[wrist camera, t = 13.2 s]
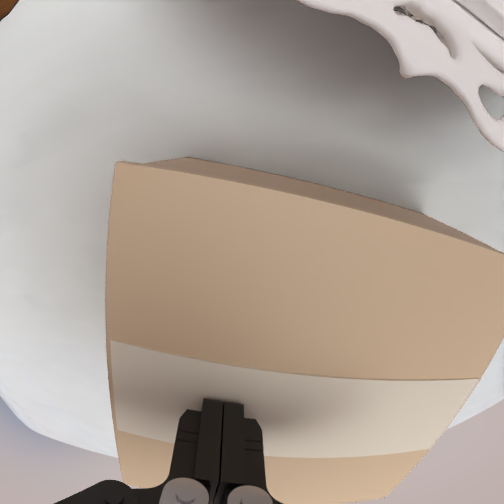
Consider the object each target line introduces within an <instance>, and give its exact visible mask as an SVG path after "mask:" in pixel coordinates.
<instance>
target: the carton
mask: <svg viewBox="0 0 504 504" xmlns="http://www.w3.org/2000/svg"><path fill="white" fill-rule="evenodd" d="M146 164H147V165H154V166H160V167H166V168H173V169H179V170H184V171H190V172H196V173H202V174H207V175H213V176H218V177H223V178H228V179H234V180H239V181H244V182H249V183H254V184H258V185H263V186H268V187H272V188H277V189H282V190H286V191H291V192H295V193H299V194H304V195H308V196H312V197H316V198H321V199H325V200H329V201H333V202H337V203H341V204H345V205H349V206H353V207H356V208H360V209H364V210H368V211H371V212H375V213H379V214H382V215H386V216H390V217H393V218H397V219H400V220H404V221H407V222H411V223H414V224H417V225H421V226H424V227H427V228H431V229H434V230H437V231H440V232H443V233H447V234H450V235H453V236H456V237H459V238H462V239H465V240H468V241H471V242H474V243H477V244H480V245H483V246H486V247H489V248H492V247H490V246H488V245H486V244H484V243H482V242H480V241H478V240H476V239H475V238H473V237H471V236H469V235H466V234H464V233H462V232H460V231H458V230H456V229H454V228H452V227H450V226H448V225H446V224H444V223H441V222H439V221H437V220H435V219H433V218H431V217H428V216H426V215H424V214H421V213H418V212H415V211H412V210H408V209H405V208H402V207H399V206H395V205H392V204H389V203H385V202H382V201H378V200H375V199H371V198H368V197H364V196H361V195H357V194H353V193H350V192H346V191H342V190H338V189H335V188H331V187H327V186H323V185H319V184H315V183H311V182H307V181H303V180H298V179H294V178H290V177H285V176H281V175H276V174H272V173H267V172H263V171H258V170H253V169H248V168H243V167H238V166H233V165H228V164H223V163H218V162H212V161H207V160H201V159H195V158H189V157H184V158H178V159H171V160H164V161H158V162H152V163H146ZM492 249H494V248H492ZM494 250H496V249H494ZM497 251H498V250H497Z"/></svg>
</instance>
